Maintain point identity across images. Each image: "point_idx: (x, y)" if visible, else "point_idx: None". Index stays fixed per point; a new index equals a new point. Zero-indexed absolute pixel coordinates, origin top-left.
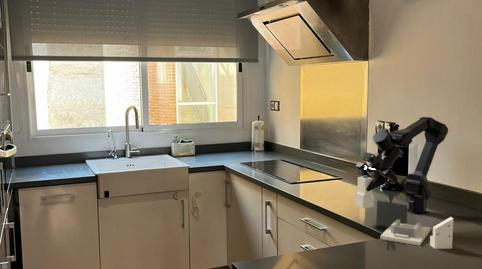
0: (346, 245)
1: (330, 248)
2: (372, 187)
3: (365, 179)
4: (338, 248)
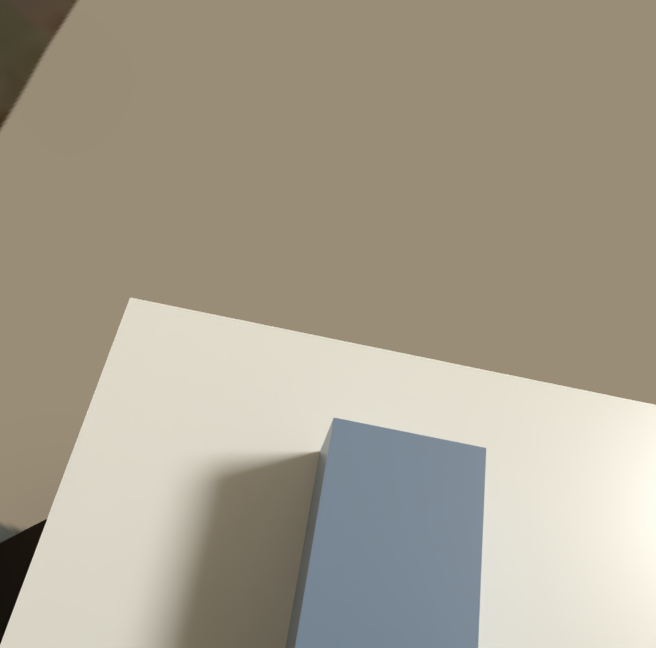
0: (6, 87)
1: (52, 4)
2: None
3: (123, 315)
4: (14, 28)
